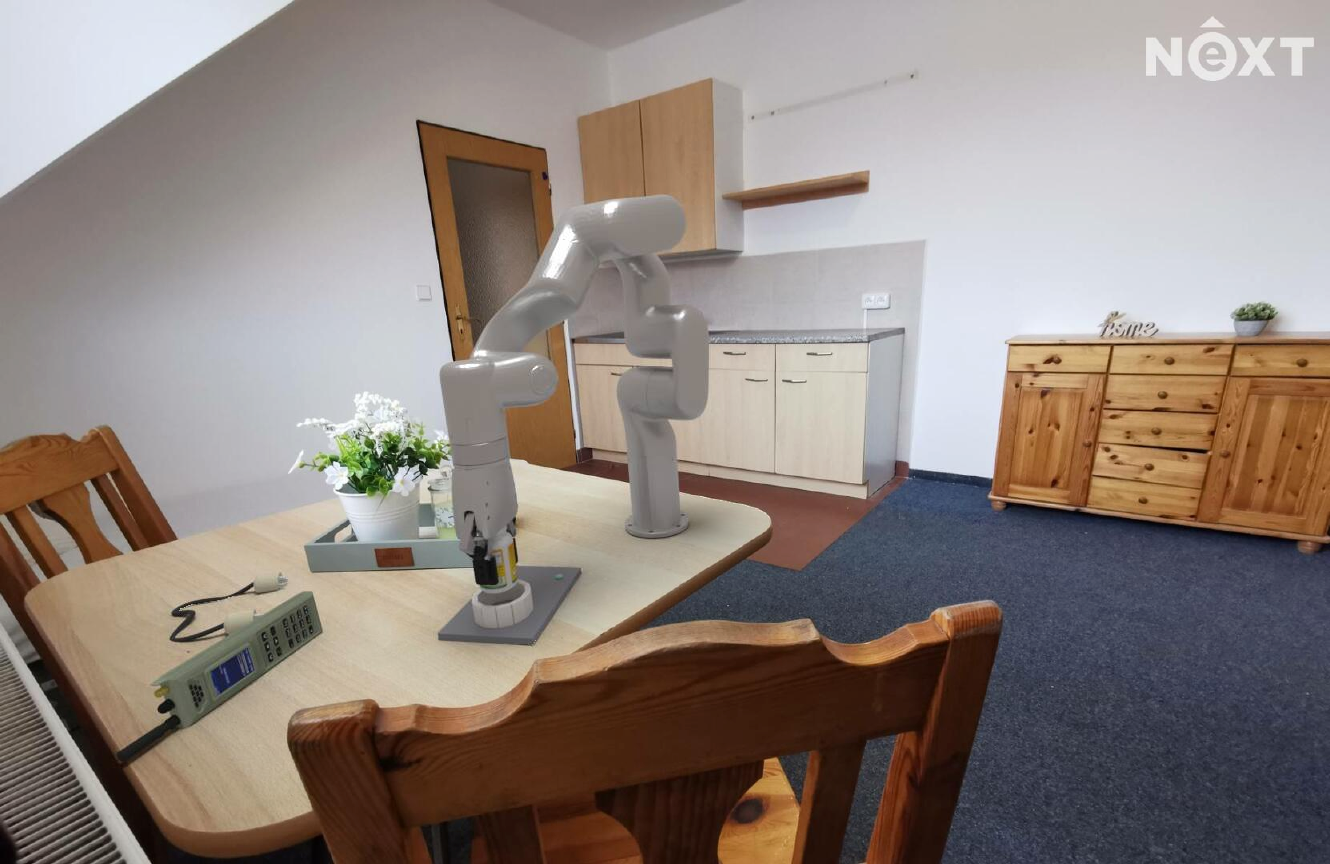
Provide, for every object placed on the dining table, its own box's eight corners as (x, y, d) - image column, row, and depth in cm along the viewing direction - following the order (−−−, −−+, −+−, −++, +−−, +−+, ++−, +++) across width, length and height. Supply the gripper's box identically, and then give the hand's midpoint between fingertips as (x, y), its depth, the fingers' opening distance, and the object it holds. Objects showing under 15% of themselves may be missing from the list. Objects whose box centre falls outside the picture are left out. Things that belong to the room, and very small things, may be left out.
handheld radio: (327, 632, 82) (135, 770, 59) (309, 631, 83) (112, 767, 60) (316, 591, 81) (114, 715, 57) (298, 590, 82) (91, 713, 58)
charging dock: (504, 570, 97) (501, 549, 96) (581, 573, 95) (579, 551, 94) (438, 639, 78) (434, 614, 77) (533, 645, 75) (529, 618, 75)
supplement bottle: (493, 598, 78) (484, 533, 75) (472, 587, 81) (463, 525, 79) (526, 582, 81) (518, 520, 79) (504, 572, 85) (496, 512, 83)
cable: (132, 663, 79) (125, 641, 78) (182, 606, 93) (176, 588, 93) (263, 633, 84) (258, 612, 83) (290, 584, 99) (286, 566, 98)
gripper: (485, 436, 85) (501, 546, 90) (418, 470, 69) (440, 604, 73) (532, 435, 84) (545, 548, 88) (474, 470, 68) (494, 606, 72)
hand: (497, 572), depth 81 cm, fingers closed on supplement bottle, 5 cm apart
